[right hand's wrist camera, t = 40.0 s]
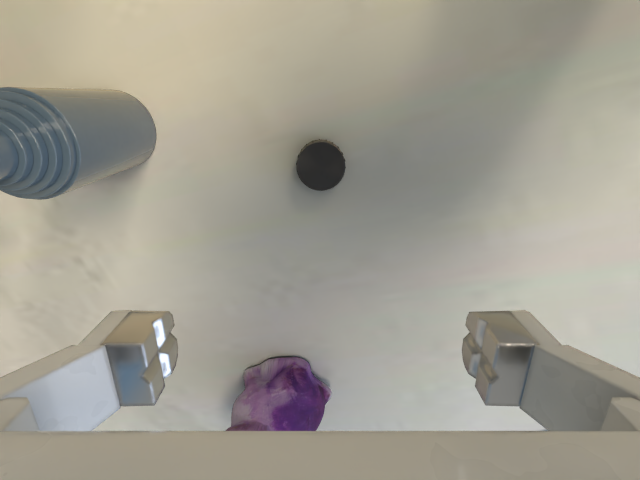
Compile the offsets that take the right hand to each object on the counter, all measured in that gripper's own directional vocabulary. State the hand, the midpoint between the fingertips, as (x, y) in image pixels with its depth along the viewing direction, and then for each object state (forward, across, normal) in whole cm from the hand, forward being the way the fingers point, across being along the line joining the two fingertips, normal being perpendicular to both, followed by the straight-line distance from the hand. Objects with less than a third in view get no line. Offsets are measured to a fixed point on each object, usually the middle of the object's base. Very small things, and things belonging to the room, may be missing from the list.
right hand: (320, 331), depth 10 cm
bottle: (+28, +19, -3) cm, 34 cm away
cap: (+27, 0, 0) cm, 27 cm away
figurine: (+28, +5, +27) cm, 39 cm away
